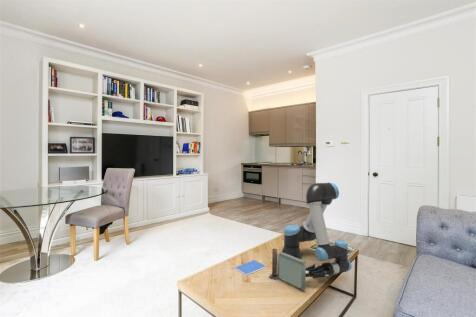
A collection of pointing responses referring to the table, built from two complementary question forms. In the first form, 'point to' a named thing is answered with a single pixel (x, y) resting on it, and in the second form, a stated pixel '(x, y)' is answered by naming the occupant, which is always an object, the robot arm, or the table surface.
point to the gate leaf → (291, 269)
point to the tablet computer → (250, 267)
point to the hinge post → (274, 265)
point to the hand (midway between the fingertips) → (299, 275)
